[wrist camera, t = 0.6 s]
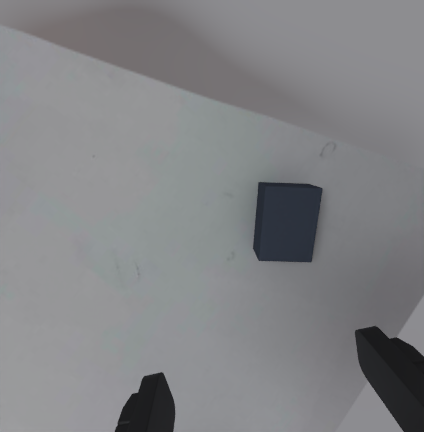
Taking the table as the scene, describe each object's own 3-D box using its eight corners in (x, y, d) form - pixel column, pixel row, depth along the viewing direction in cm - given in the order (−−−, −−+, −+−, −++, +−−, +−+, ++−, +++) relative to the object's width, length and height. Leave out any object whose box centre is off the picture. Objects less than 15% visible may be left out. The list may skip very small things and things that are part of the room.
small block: (258, 182, 24) (265, 186, 21) (309, 183, 24) (322, 188, 21) (253, 248, 26) (258, 260, 23) (300, 250, 26) (311, 262, 23)
